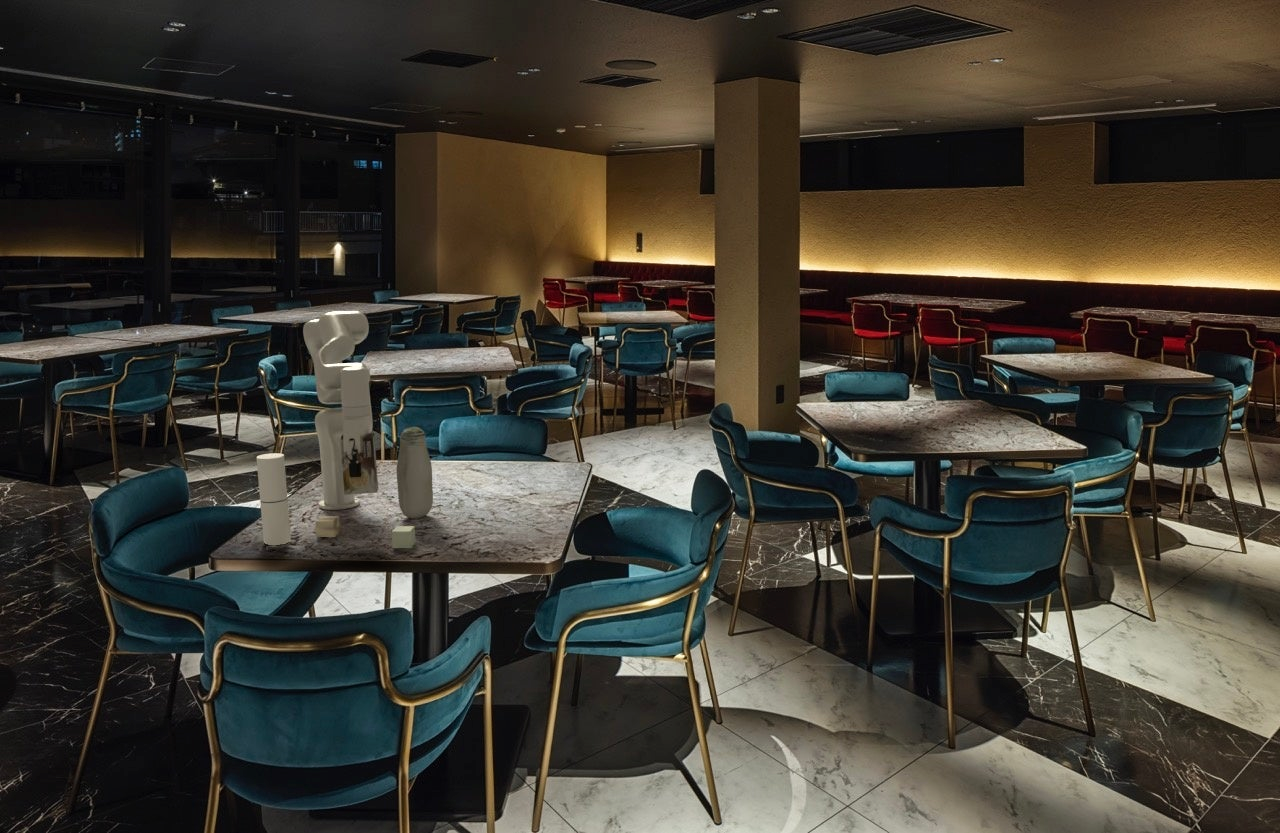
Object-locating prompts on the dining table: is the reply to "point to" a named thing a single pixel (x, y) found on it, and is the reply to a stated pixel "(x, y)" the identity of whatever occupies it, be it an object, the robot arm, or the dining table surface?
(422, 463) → the grey bottle
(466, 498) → the dining table surface
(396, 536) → the sage block
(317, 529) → the birch block
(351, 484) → the coffee box
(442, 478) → the dining table surface
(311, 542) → the dining table surface
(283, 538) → the cylindrical container
